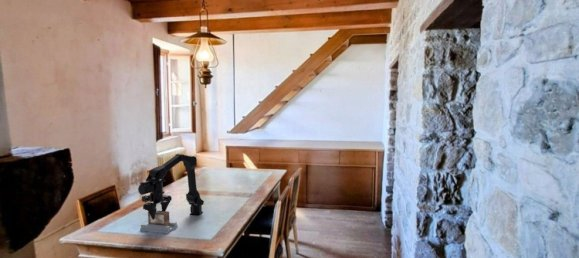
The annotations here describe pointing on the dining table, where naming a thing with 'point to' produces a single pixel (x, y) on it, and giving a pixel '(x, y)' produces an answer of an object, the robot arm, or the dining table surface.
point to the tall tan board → (159, 218)
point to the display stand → (159, 227)
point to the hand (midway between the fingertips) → (158, 216)
